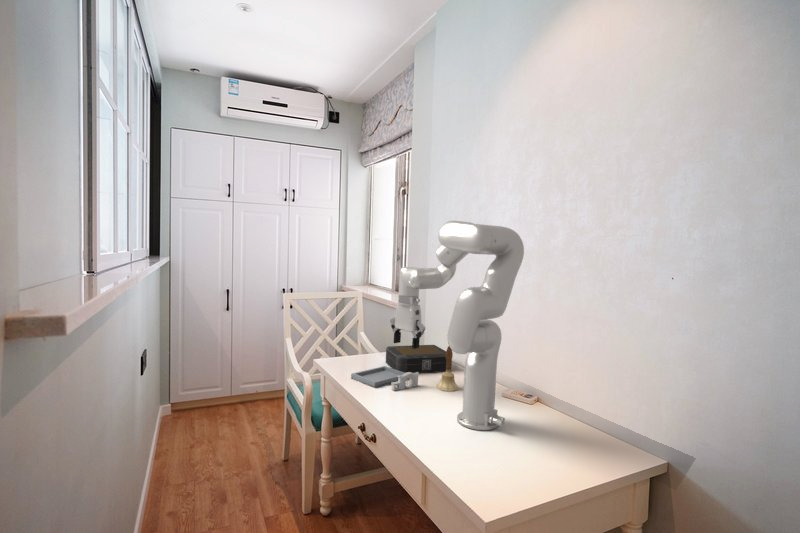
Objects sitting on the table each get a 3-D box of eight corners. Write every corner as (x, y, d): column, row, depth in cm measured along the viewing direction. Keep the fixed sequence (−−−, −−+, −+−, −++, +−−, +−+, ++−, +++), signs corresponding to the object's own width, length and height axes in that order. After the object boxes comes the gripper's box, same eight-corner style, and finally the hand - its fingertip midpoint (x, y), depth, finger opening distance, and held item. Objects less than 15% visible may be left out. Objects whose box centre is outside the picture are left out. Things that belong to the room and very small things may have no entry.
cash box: (398, 376, 172) (399, 357, 172) (384, 362, 191) (385, 346, 191) (453, 372, 180) (454, 354, 180) (434, 360, 199) (435, 344, 199)
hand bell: (462, 390, 157) (464, 348, 156) (442, 392, 153) (444, 349, 153) (451, 383, 164) (453, 343, 164) (432, 385, 161) (434, 344, 161)
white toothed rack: (393, 391, 152) (393, 375, 152) (390, 390, 154) (391, 374, 154) (418, 386, 160) (419, 370, 159) (415, 384, 161) (416, 369, 161)
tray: (408, 378, 168) (408, 373, 168) (374, 387, 155) (374, 382, 155) (384, 370, 178) (384, 365, 178) (351, 378, 165) (351, 373, 165)
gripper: (432, 302, 152) (430, 348, 153) (399, 296, 164) (396, 339, 165) (418, 304, 147) (416, 352, 148) (385, 297, 159) (383, 342, 160)
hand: (406, 345), depth 156 cm, fingers open, 9 cm apart
